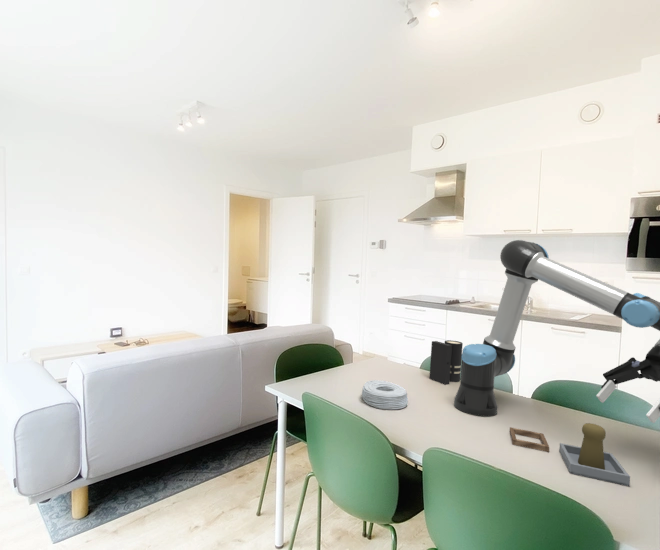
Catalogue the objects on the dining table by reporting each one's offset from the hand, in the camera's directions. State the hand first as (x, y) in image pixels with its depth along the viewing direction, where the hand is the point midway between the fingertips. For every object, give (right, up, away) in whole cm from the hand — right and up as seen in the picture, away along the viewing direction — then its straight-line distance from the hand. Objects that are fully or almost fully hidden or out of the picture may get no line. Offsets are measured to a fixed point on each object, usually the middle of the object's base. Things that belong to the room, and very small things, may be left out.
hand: (623, 408), depth 100 cm
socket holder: (-19, -14, +12) cm, 27 cm away
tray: (-10, -15, -1) cm, 18 cm away
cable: (-60, -12, +39) cm, 72 cm away
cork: (-10, -15, -1) cm, 18 cm away
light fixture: (-25, -13, +71) cm, 77 cm away
